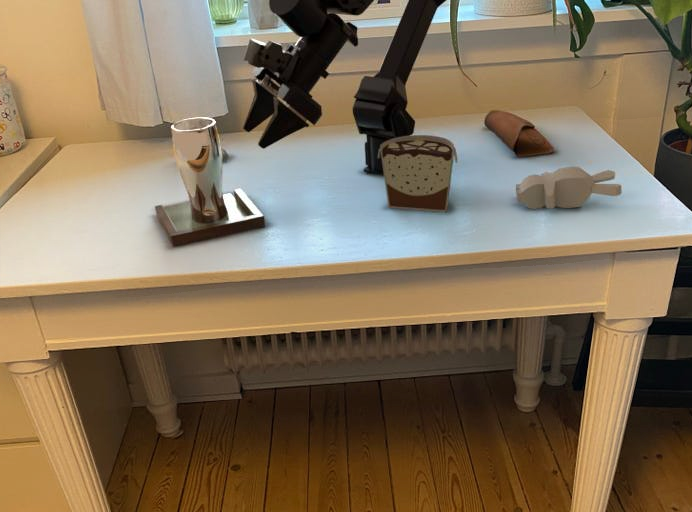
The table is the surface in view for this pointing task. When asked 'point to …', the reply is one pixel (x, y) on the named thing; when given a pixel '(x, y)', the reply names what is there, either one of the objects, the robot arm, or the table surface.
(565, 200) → the bunny figurine
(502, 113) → the sunglasses case
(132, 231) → the table surface
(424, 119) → the table surface
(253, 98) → the robot arm
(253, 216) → the dock
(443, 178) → the food container
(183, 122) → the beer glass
